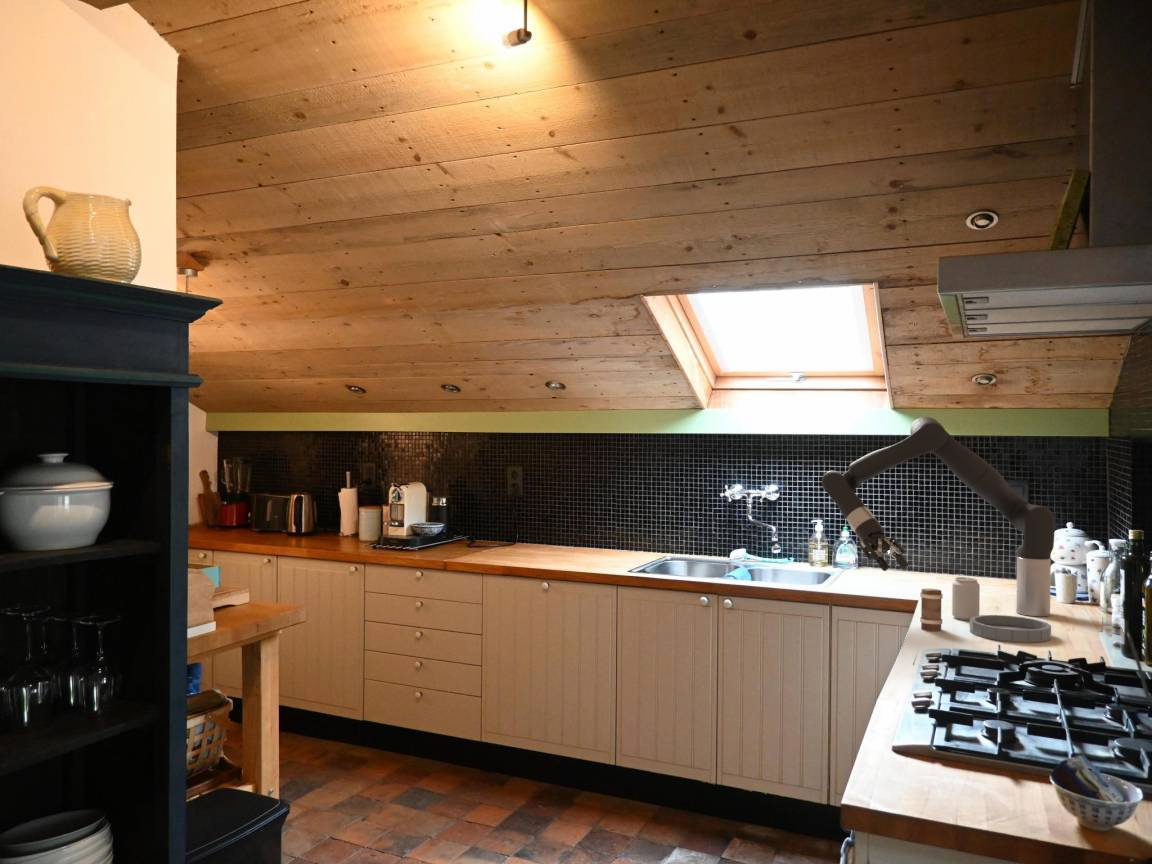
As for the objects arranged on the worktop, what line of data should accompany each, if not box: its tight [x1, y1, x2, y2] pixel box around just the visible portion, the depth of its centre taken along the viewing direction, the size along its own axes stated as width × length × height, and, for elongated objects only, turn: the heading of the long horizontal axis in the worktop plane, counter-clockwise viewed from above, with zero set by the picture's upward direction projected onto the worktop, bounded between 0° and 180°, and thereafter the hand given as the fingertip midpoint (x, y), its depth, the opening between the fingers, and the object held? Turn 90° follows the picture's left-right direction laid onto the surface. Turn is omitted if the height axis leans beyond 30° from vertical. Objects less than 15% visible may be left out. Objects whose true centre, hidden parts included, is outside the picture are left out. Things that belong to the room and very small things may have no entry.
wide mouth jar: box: [951, 576, 981, 622], centre depth 269 cm, size 8×8×12 cm
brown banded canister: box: [919, 588, 944, 632], centre depth 254 cm, size 6×6×11 cm
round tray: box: [969, 614, 1052, 644], centre depth 248 cm, size 20×20×3 cm
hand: (896, 568), depth 263 cm, fingers open, 8 cm apart
